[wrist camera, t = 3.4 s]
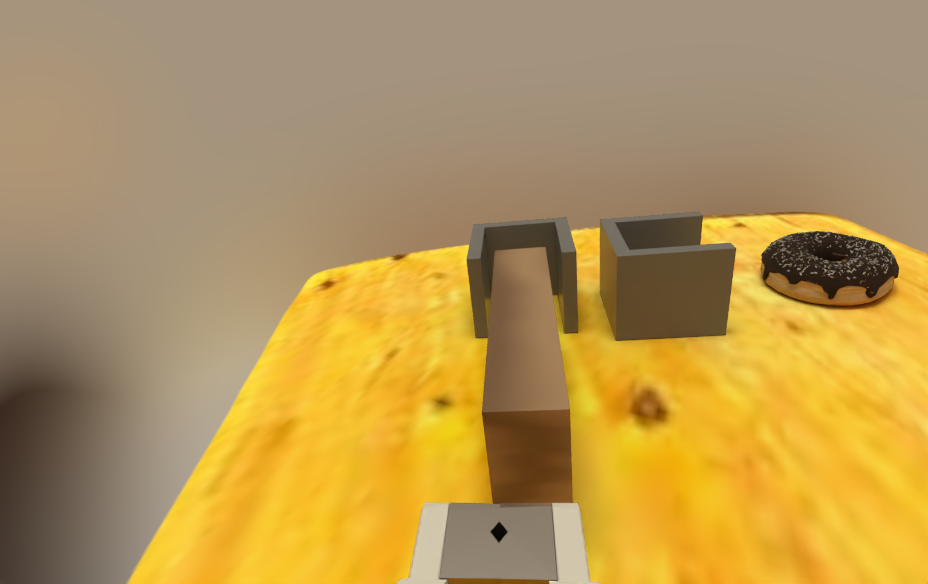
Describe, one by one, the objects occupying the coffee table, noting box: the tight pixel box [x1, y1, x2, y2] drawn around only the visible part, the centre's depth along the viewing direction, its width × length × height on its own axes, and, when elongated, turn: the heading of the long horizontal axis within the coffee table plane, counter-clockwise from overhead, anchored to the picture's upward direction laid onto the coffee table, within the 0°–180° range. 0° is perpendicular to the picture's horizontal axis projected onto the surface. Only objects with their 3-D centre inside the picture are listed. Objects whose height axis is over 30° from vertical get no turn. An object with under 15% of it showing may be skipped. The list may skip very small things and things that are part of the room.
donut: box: [761, 231, 899, 306], centre depth 51 cm, size 11×12×4 cm
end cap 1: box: [467, 217, 578, 338], centre depth 51 cm, size 9×9×8 cm
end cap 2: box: [600, 212, 736, 340], centre depth 48 cm, size 9×9×8 cm
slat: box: [482, 247, 573, 504], centre depth 35 cm, size 4×20×10 cm, turn 175°
